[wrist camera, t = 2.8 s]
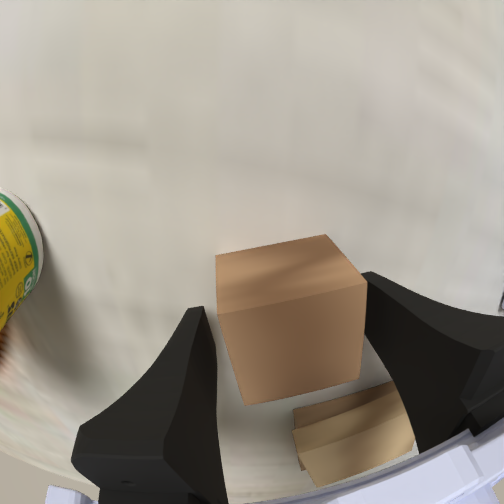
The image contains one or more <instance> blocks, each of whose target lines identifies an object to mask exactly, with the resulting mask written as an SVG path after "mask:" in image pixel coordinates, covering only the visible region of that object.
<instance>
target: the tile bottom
mask: <svg viewBox="0 0 504 504" xmlns="http://www.w3.org/2000/svg"><path fill="white" fill-rule="evenodd" d="M396 390H397V388H396V386H395V384H394V381H390V382H388V383H385V384H382V385H379V386H376V387H373V388H370V389H367V390H364V391H361V392H358V393H354V394H351V395H348V396H344V397H341V398H337V399H334V400H330V401H326V402H323V403H319V404H315V405H311V406H307V407H302V408H298V409H294V410H293V413H294V422H295V429H298V428H301V427H305V426H308V425H311V424H314V423H317V422H320V421H323V420H326V419H328V418H331V417H334V416H337V415H339V414H342V413H345V412H347V411H350V410H352V409H355V408H357V407H360V406H362V405H365V404H367V403H370V402H372V401H374V400H377V399H379V398H381V397H383V396H386V395H388V394H390V393H392V392H394V391H396ZM298 460H299V464H300V468H301V471H303V470H306V468H305V466H304V464H303V463H302V461H301V459H300V457H299V456H298Z"/></svg>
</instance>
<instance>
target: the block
mask: <svg viewBox="0 0 504 504" xmlns="http://www.w3.org/2000/svg"><path fill="white" fill-rule="evenodd" d="M216 293H217V315H218V319H219V323H220V326H221V330H222V333H223V336H224V340H225V343H226V347H227V350H228V354H229V357H230V360H231V363H232V367H233V370H234V373H235V377H236V380H237V383H238V386H239V389H240V393H241V396H242V399H243V402H244V405H245V406H247V405H253V404H258V403H263V402H269V401H274V400H278V399H283V398H288V397H292V396H297V395H301V394H305V393H309V392H313V391H317V390H321V389H325V388H328V387H332V386H336V385H339V384H343V383H346V382H349V381H353V380H356V379H359V375H360V367H361V359H362V349H363V339H364V328H365V315H366V299H367V281H366V280H365V279H364V278H363V276H362V275H361V274H360V273H359V272H358V270H357V269H356V268H355V267H354V266H353V265H352V263H351V262H350V261H349V260H348V259H347V258H346V256H345V255H344V254H343V253H342V252H341V251H340V249H339V248H338V247H337V246H336V245H335V244H334V243H333V242H332V240H331V239H330V238H329V237H328V236H327V235H326V234H324V235H319V236H314V237H309V238H303V239H298V240H293V241H288V242H283V243H277V244H272V245H267V246H262V247H257V248H251V249H246V250H241V251H236V252H231V253H226V254H221V255H216Z"/></svg>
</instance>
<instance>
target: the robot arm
mask: <svg viewBox="0 0 504 504" xmlns="http://www.w3.org/2000/svg"><path fill="white" fill-rule="evenodd" d="M361 275H362V276H363V278H364V279H365V280H366V281H367V299H366V315H365V328H364V333H365V335H366V337H367V338H368V340H369V342H370V343H371V345H372V346H373V348H374V350H375V351H376V353H377V354H378V356H379V357H380V359H381V361H382V362H383V364H384V365H385V367H386V369H387V370H388V372H389V374H390V376H391V377H392V379H393V381H394V384H395V386H396V388H397V390H398V393H399V395H400V397H401V400H402V402H403V405H404V407H405V410H406V412H407V415H408V418H409V421H410V424H411V427H412V430H413V433H414V436H415V440H416V443H417V447H418V451H419V455H417V456H414V457H412V458H410V459H408V460H405V461H403V462H401V463H398V464H396V465H394V466H391V467H389V468H386V469H383V470H381V471H378V472H375V473H373V474H370V475H367V476H364V477H361V478H358V479H355V480H352V481H349V482H346V483H342V484H339V485H335V486H332V487H328V488H324V489H321V490H317V491H313V492H308V493H304V494H299V495H295V496H290V497H285V498H279V499H273V500H267V501H261V502H253V503H245V504H500V503H499V501H498V499H497V497H496V495H495V493H494V491H493V489H492V486H494V485H495V484H496V483H498V482H499V481H500V480H502V479H503V478H504V317H502V316H493V315H485V314H480V313H474V312H470V311H466V310H462V309H458V308H454V307H451V306H448V305H445V304H442V303H439V302H437V301H434V300H431V299H429V298H427V297H424V296H422V295H420V294H417V293H415V292H413V291H411V290H409V289H407V288H405V287H403V286H401V285H399V284H397V283H395V282H393V281H391V280H389V279H387V278H385V277H383V276H381V275H378V274H376V273H374V272H371V271H370V272H366V273H362V274H361ZM502 309H503V310H504V300H503V303H502ZM216 405H217V357H216V347H215V342H214V339H213V336H212V333H211V330H210V326H209V323H208V320H207V316H206V313H205V310H204V306H199V307H193V308H188V309H187V311H186V312H185V314H184V316H183V318H182V319H181V321H180V323H179V325H178V327H177V328H176V330H175V332H174V333H173V335H172V337H171V338H170V340H169V341H168V343H167V345H166V346H165V348H164V349H163V350H162V352H161V353H160V355H159V356H158V358H157V359H156V360H155V362H154V363H153V364H152V366H151V367H150V368H149V369H148V370H147V372H146V373H145V374H144V375H143V376H142V377H141V378H140V379H139V380H138V381H137V382H136V383H135V384H134V385H133V386H132V387H131V388H130V389H129V390H128V391H127V392H126V393H125V394H124V395H123V396H122V397H120V398H119V399H118V400H117V401H116V402H114V403H113V404H112V405H111V406H109V407H108V408H107V409H105V410H104V411H102V412H101V413H100V414H98V415H97V416H95V417H93V418H92V419H90V420H89V421H87V422H86V423H84V424H82V425H81V426H80V427H79V430H78V433H77V437H76V441H75V444H74V448H73V452H72V457H71V462H72V464H73V466H74V467H75V469H76V470H77V471H78V472H79V473H81V474H82V475H83V476H84V477H86V478H87V479H88V480H90V481H91V482H92V483H94V484H95V485H96V486H98V487H99V488H100V493H99V500H98V501H95V500H91V499H90V498H89V497H88V496H86V495H84V494H83V493H81V492H79V491H76V490H72V489H68V488H63V487H59V486H54V485H49V487H48V491H47V496H46V500H45V504H229V503H228V498H227V493H226V487H225V482H224V476H223V469H222V463H221V455H220V448H219V440H218V430H217V417H216Z"/></svg>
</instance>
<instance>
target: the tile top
mask: <svg viewBox="0 0 504 504" xmlns="http://www.w3.org/2000/svg"><path fill="white" fill-rule="evenodd" d="M292 434H293V438H294V441H295V445H296V449H297V453H298V456H299V457H300V459H301V461H302V463H303V464H304V466H305V468H306V470H307V471H308V473H309V475H310V477H311V478H312V480H313V482H314V483H315V485H316V487H321V486H324V485H327V484H330V483H333V482H337V481H339V480H342V479H345V478H348V477H351V476H354V475H356V474H359V473H362V472H364V471H367V470H369V469H372V468H374V467H377V466H379V465H381V464H384V463H386V462H388V461H390V460H393V459H395V458H397V457H399V456H401V455H403V454H405V453H407V452H409V451H411V450H412V447H413V444H414V440H415V436H414V433H413V430H412V427H411V424H410V421H409V418H408V415H407V412H406V410H405V407H404V405H403V402H402V400H401V397H400V395H399V393H398V390H396V391H394V392H392V393H390V394H388V395H386V396H383V397H381V398H379V399H377V400H374V401H372V402H370V403H367V404H365V405H362V406H360V407H357V408H355V409H352V410H350V411H347V412H345V413H342V414H339V415H337V416H334V417H331V418H328V419H326V420H323V421H320V422H317V423H314V424H311V425H308V426H305V427H301V428H298V429H295V430H292Z"/></svg>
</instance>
